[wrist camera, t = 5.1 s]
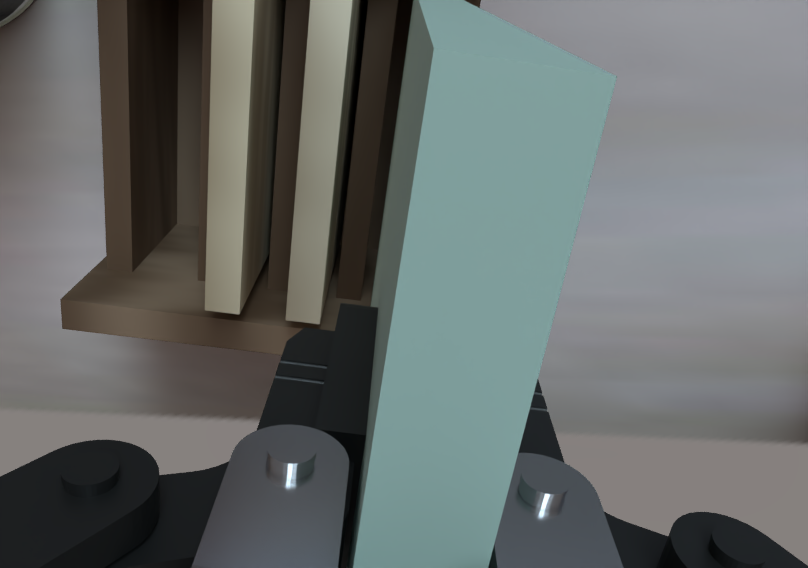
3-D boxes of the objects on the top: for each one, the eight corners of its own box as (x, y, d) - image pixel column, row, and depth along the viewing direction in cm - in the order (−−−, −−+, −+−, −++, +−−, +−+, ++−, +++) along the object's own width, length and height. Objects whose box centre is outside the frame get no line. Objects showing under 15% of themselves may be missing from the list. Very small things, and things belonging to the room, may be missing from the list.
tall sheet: (451, -7, 23) (617, 77, 4) (402, 294, 27) (387, 950, 9) (415, -12, 23) (433, 47, 4) (372, 290, 27) (294, 943, 9)
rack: (484, -52, 29) (520, -66, 20) (430, 271, 35) (439, 373, 26) (149, -104, 29) (31, -142, 20) (152, 235, 35) (62, 328, 26)
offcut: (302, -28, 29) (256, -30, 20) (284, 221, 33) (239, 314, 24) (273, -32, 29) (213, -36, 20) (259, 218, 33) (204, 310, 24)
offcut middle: (369, -17, 29) (353, -15, 20) (342, 229, 33) (319, 324, 24) (340, -22, 29) (311, -21, 20) (317, 226, 33) (285, 320, 24)
